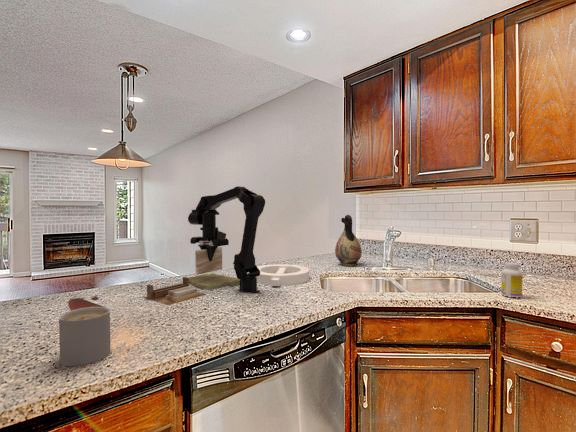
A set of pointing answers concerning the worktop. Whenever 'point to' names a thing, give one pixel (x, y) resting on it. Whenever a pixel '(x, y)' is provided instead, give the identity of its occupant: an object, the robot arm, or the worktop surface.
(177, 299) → the oak offcut
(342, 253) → the ceramic jug
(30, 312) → the worktop surface
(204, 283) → the decorative tile
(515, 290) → the supplement bottle
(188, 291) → the grey offcut
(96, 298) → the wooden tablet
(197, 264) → the birch sheet
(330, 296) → the worktop surface
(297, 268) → the ring with crossbar
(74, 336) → the coffee mug
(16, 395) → the worktop surface
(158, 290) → the walnut rack
